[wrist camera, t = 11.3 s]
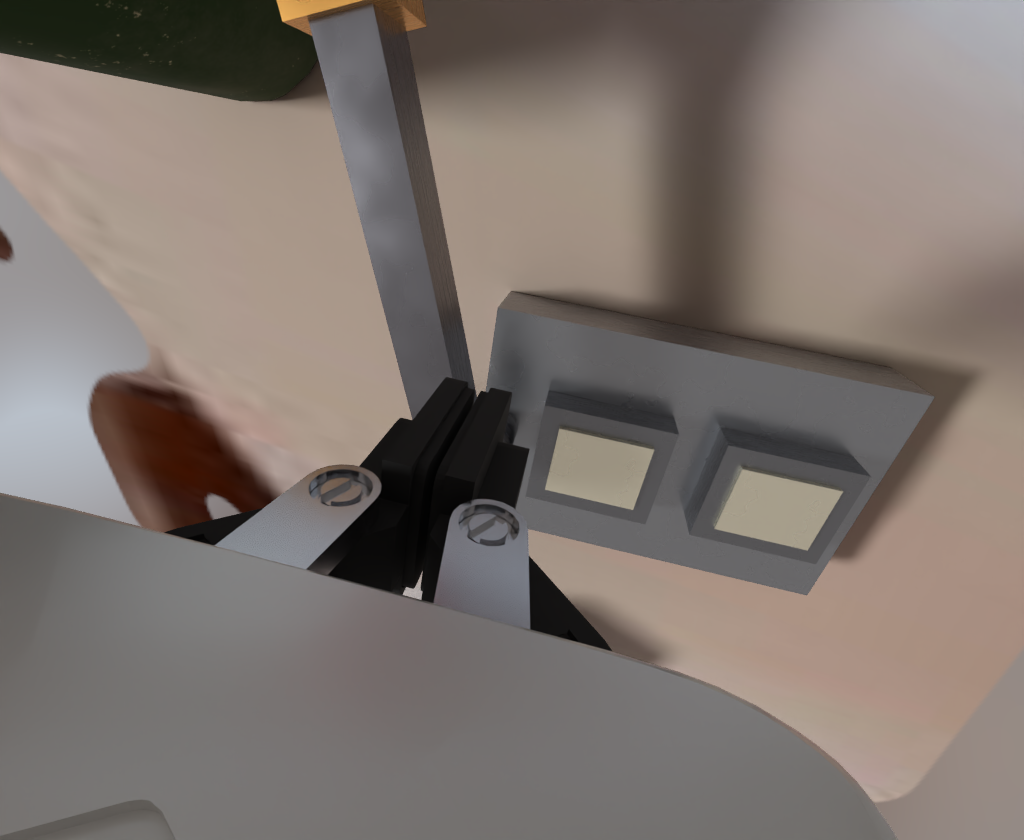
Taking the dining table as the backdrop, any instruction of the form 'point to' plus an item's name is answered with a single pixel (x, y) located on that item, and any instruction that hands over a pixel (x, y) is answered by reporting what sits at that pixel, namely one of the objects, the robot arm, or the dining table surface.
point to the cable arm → (391, 178)
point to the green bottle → (166, 42)
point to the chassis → (694, 439)
